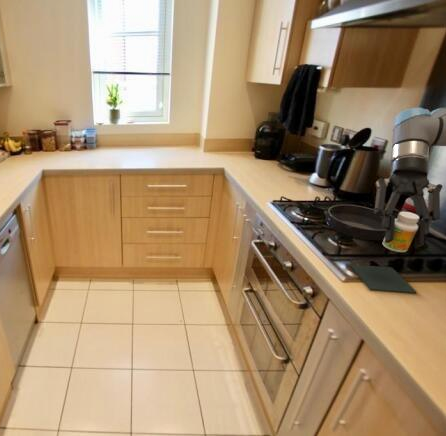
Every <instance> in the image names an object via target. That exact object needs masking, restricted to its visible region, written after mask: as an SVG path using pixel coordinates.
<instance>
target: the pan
mask: <svg viewBox="0 0 446 436" xmlns="http://www.w3.org/2000/svg"><path fill="white" fill-rule="evenodd" d="M374 209H375V208H370V207H366V206H361V205H356V204H336V205H332V206H330V207H328V209H327V212H326V214H325V217H324V218H325V219H324V221H325V223H326V225H327V226H328V227H329V228H331V229H332V230H333V231H335V232H338V233H340V234H342V235H344V236H348V237H351V238H354V239H359V240H364V241H374V242H375V241H383V240H384V238H385V234H386V229H382V218H381V216H380V215H375V214H374Z"/></svg>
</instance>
